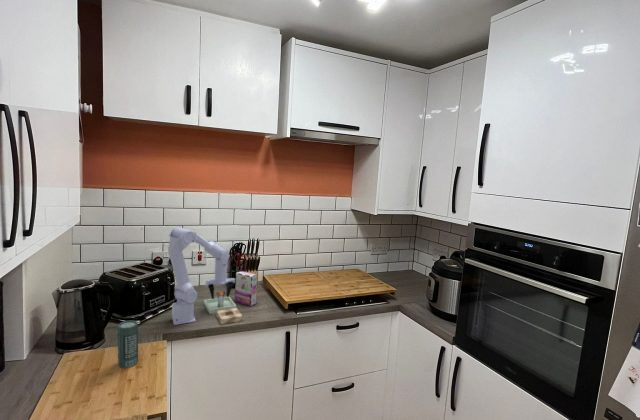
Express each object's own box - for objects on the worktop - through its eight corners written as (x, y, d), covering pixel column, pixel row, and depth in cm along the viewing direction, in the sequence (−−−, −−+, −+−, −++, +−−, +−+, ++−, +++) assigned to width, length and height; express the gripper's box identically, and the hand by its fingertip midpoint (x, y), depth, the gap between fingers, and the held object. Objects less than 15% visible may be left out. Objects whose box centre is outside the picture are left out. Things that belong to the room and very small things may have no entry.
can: (133, 356, 129) (133, 318, 128) (140, 363, 126) (140, 324, 124) (115, 362, 125) (115, 324, 123) (122, 370, 121) (122, 330, 119)
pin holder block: (221, 324, 159) (221, 319, 159) (216, 315, 167) (216, 310, 167) (242, 320, 164) (242, 315, 164) (236, 312, 172) (236, 307, 172)
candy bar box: (256, 303, 185) (257, 274, 183) (250, 306, 180) (251, 276, 178) (240, 298, 190) (241, 270, 188) (234, 301, 185) (235, 272, 183)
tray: (209, 314, 168) (209, 309, 168) (204, 304, 179) (204, 299, 179) (236, 310, 175) (236, 305, 174) (229, 300, 186) (229, 296, 186)
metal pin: (217, 308, 174) (217, 294, 173) (215, 305, 177) (215, 291, 176) (225, 307, 176) (225, 293, 175) (223, 304, 179) (223, 290, 178)
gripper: (207, 275, 168) (207, 302, 169) (237, 272, 175) (236, 298, 177) (204, 271, 174) (204, 297, 175) (233, 268, 181) (232, 293, 183)
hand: (220, 297), depth 176 cm, fingers open, 7 cm apart
